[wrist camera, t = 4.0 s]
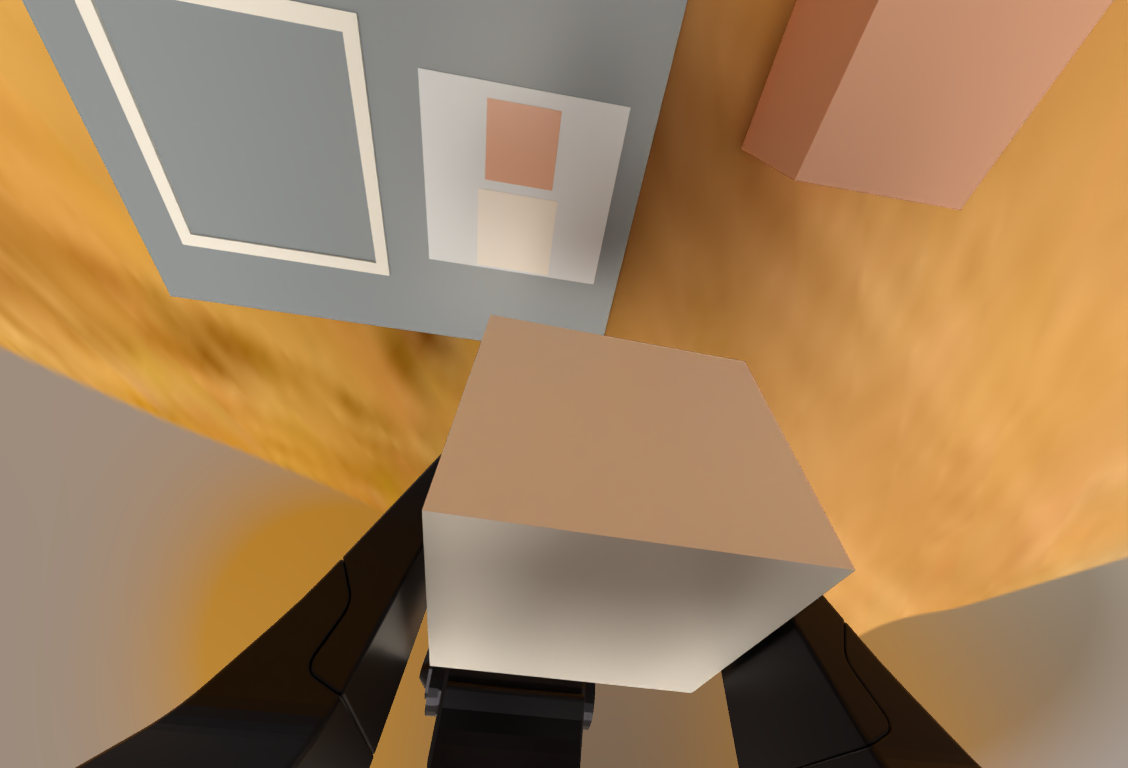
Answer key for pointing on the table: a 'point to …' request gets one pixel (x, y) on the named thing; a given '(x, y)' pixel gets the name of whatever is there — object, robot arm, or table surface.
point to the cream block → (615, 514)
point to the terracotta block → (910, 90)
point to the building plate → (376, 148)
